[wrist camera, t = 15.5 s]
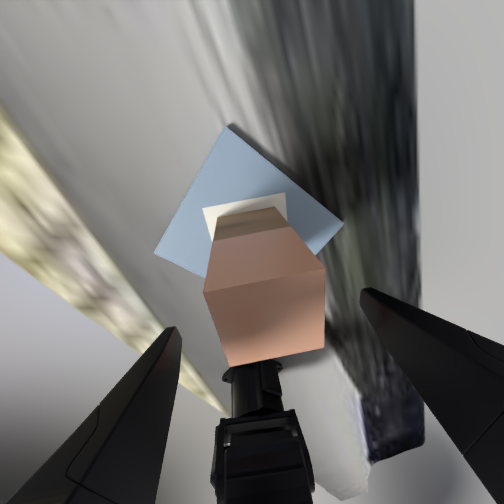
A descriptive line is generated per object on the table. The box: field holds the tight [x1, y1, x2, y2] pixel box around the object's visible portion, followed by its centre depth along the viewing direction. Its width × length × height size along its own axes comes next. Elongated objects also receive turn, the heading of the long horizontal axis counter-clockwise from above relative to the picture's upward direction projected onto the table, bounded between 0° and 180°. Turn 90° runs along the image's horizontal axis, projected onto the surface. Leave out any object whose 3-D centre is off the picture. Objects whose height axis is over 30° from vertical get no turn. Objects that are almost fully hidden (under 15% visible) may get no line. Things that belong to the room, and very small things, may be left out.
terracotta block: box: [203, 226, 325, 367], centre depth 11 cm, size 5×5×5 cm
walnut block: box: [213, 206, 290, 241], centre depth 16 cm, size 5×5×5 cm
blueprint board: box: [154, 126, 344, 278], centre depth 18 cm, size 12×13×1 cm
